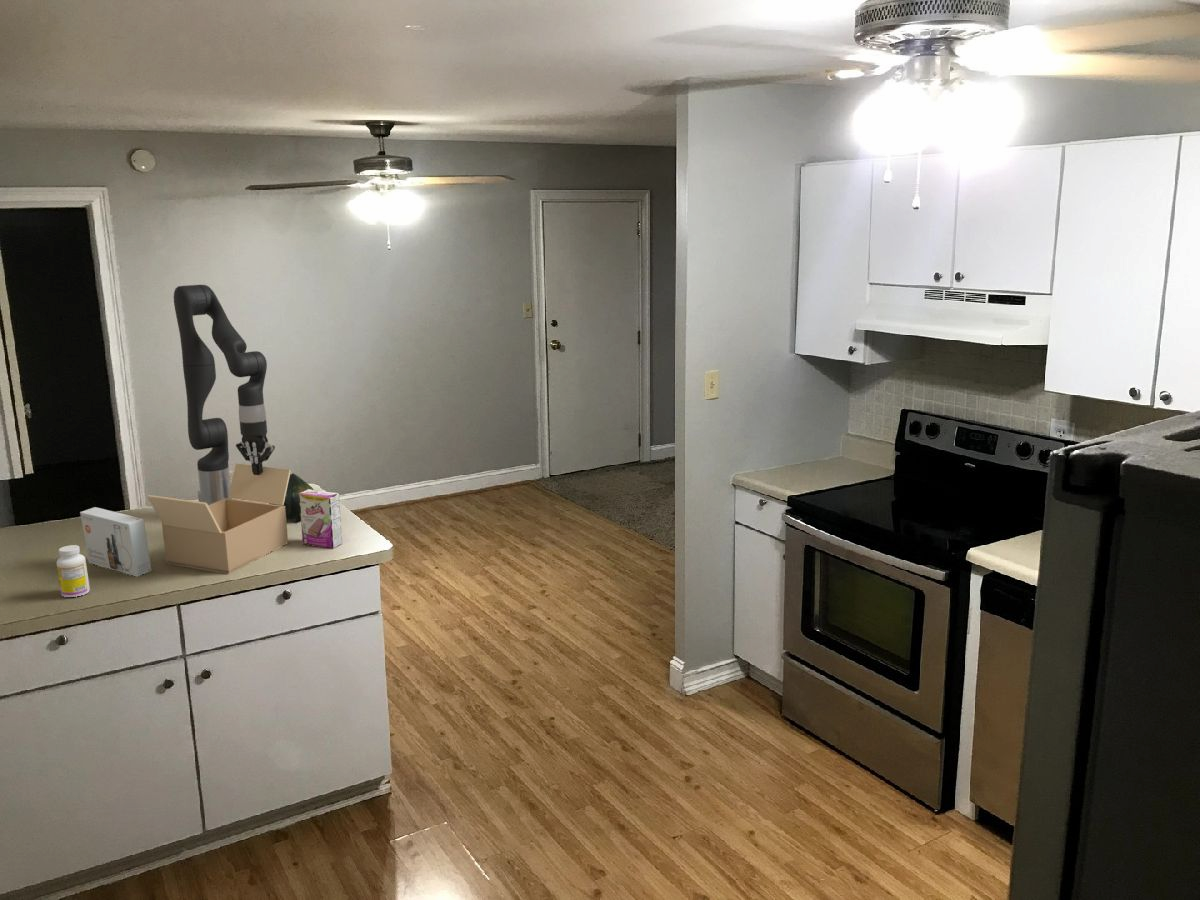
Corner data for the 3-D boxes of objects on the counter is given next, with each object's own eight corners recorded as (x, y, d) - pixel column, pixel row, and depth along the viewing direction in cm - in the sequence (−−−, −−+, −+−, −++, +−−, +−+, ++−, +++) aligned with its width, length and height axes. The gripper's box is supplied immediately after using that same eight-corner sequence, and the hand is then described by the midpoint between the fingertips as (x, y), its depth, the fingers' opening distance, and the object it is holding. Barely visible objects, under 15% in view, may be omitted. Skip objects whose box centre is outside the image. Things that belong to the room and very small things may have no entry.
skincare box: (86, 564, 268) (78, 511, 264) (103, 558, 273) (96, 506, 269) (135, 578, 259) (128, 523, 254) (152, 571, 263) (146, 517, 259)
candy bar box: (301, 545, 284) (297, 493, 280) (311, 539, 289) (307, 488, 284) (333, 549, 280) (329, 497, 276) (343, 544, 285) (339, 492, 281)
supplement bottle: (68, 589, 251) (61, 543, 248) (94, 588, 251) (88, 543, 248) (56, 599, 244) (49, 552, 241) (83, 598, 245) (76, 552, 242)
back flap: (235, 463, 290) (237, 463, 291) (228, 497, 289) (229, 498, 289) (289, 469, 284) (290, 470, 284) (282, 505, 282) (283, 505, 283)
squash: (284, 513, 295) (305, 471, 301) (252, 507, 303) (274, 466, 309) (313, 532, 306) (333, 492, 312) (282, 526, 314) (302, 486, 320)
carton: (166, 563, 269) (161, 523, 266) (229, 535, 292) (225, 498, 289) (229, 574, 262) (224, 533, 259) (288, 543, 285) (285, 506, 282)
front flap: (164, 523, 265) (163, 525, 265) (148, 494, 259) (146, 496, 258) (221, 532, 259) (220, 533, 258) (206, 502, 252) (205, 504, 252)
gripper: (225, 419, 280) (231, 475, 284) (262, 423, 276) (267, 480, 280) (243, 414, 287) (248, 469, 291) (279, 417, 282) (284, 473, 287)
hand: (257, 474), depth 285 cm, fingers closed
